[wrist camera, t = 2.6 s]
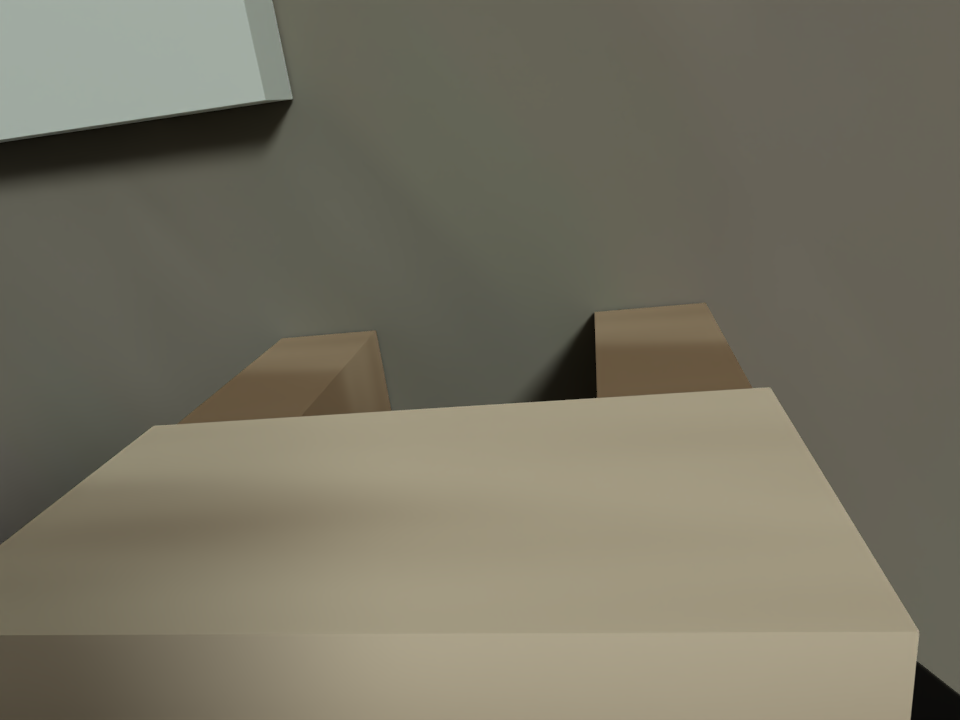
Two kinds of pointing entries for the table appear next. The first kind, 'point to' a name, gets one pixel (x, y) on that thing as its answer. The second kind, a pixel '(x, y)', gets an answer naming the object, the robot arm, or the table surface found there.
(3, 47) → the board
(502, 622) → the tan box with tabs
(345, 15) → the table surface
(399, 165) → the table surface
